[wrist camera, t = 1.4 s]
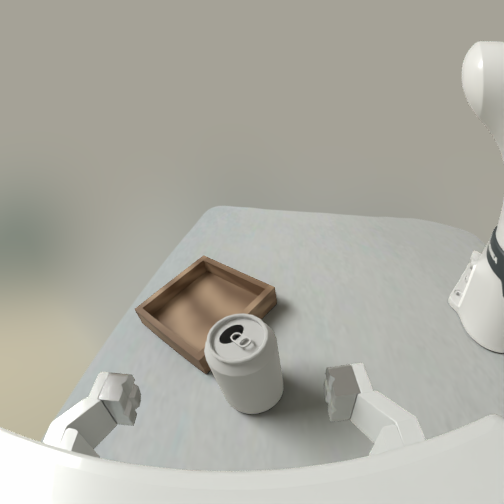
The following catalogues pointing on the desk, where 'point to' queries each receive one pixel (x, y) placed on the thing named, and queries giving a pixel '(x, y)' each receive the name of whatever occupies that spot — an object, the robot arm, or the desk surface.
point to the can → (245, 362)
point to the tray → (202, 306)
